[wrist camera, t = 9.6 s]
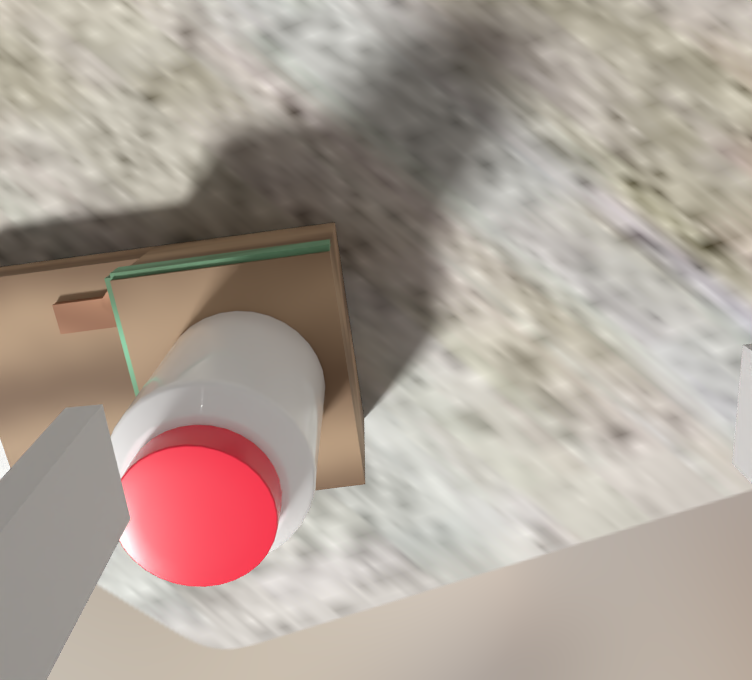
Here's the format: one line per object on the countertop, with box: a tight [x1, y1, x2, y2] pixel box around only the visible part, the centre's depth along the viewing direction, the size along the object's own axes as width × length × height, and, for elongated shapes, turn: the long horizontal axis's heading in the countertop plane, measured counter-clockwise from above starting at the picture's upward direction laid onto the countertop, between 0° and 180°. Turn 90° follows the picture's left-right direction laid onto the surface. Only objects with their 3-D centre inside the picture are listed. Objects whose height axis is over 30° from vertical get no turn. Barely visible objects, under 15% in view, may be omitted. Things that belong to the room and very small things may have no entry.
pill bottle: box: [111, 311, 325, 587], centre depth 29 cm, size 8×8×11 cm
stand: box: [0, 222, 365, 490], centre depth 37 cm, size 12×20×8 cm, turn 97°
